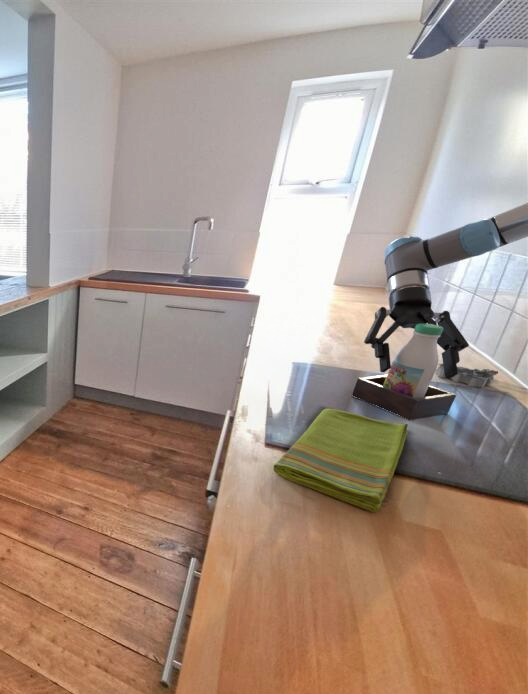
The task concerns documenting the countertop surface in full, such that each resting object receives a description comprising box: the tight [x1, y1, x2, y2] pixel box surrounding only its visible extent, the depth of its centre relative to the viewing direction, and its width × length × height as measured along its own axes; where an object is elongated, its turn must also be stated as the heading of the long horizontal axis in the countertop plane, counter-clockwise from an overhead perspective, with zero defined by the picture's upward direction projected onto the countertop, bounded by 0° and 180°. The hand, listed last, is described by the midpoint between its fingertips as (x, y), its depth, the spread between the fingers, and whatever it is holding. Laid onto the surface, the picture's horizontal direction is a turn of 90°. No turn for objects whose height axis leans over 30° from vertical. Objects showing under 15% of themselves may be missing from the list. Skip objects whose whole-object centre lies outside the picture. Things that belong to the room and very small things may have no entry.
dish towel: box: [273, 407, 409, 513], centre depth 80 cm, size 15×36×3 cm, turn 133°
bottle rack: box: [351, 374, 457, 421], centre depth 100 cm, size 13×12×5 cm
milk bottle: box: [383, 323, 443, 398], centre depth 97 cm, size 8×8×20 cm
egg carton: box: [435, 362, 499, 389], centre depth 115 cm, size 11×8×4 cm
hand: (417, 373), depth 95 cm, fingers open, 12 cm apart
